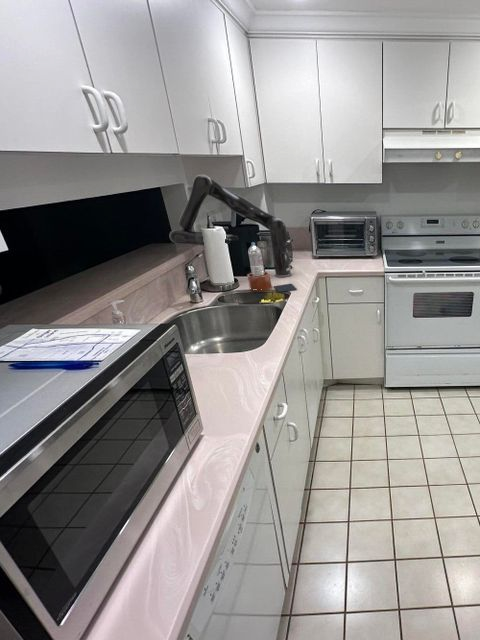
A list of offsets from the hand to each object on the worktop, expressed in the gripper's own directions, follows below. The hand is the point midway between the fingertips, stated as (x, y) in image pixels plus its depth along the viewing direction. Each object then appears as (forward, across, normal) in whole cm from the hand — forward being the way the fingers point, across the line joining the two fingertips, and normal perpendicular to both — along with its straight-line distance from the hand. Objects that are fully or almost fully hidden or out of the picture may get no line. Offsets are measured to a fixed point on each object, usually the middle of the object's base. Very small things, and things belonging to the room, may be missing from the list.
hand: (233, 239), depth 203 cm
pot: (+11, 0, +26) cm, 28 cm away
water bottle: (+11, 0, +26) cm, 28 cm away
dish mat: (+25, +2, +26) cm, 36 cm away
